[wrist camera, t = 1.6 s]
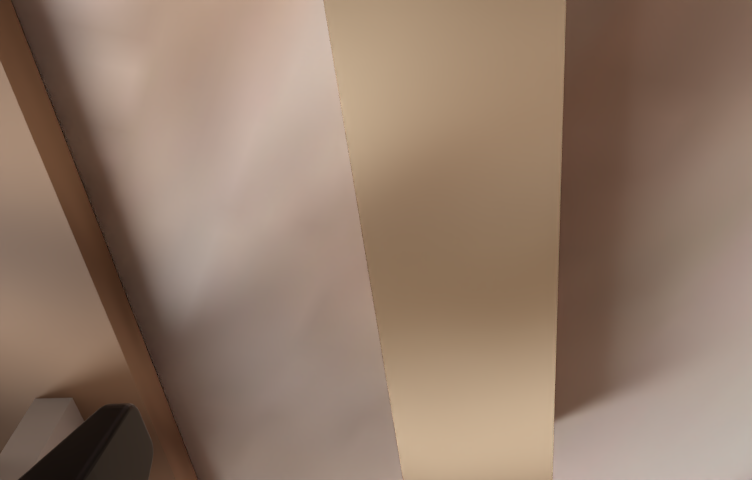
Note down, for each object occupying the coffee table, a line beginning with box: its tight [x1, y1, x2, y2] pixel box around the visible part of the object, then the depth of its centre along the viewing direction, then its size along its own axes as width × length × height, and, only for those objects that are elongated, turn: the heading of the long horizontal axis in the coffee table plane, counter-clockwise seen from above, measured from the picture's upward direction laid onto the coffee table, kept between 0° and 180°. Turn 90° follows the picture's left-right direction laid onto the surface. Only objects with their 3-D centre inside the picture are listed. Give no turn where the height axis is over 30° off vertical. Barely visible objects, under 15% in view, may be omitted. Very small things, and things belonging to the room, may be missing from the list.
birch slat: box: [323, 0, 566, 480], centre depth 13 cm, size 16×3×4 cm, turn 7°
